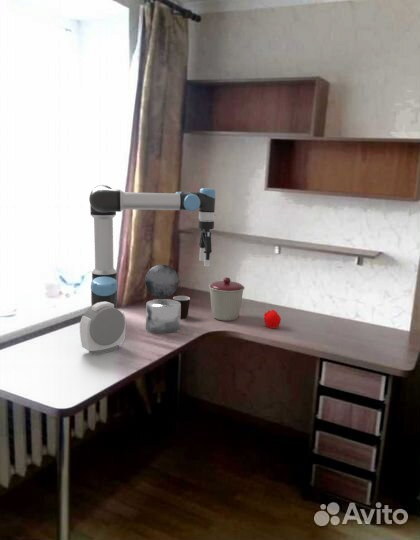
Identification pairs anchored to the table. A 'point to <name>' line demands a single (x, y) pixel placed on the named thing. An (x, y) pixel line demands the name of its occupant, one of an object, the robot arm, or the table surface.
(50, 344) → the table surface
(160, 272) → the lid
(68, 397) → the table surface
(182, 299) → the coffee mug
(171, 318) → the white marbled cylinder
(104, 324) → the alarm clock
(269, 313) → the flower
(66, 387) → the table surface
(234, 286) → the canister
